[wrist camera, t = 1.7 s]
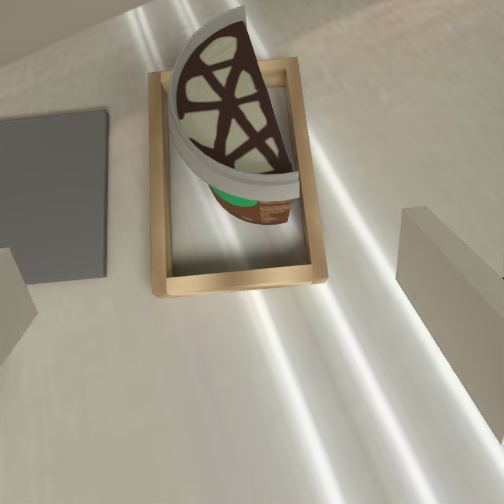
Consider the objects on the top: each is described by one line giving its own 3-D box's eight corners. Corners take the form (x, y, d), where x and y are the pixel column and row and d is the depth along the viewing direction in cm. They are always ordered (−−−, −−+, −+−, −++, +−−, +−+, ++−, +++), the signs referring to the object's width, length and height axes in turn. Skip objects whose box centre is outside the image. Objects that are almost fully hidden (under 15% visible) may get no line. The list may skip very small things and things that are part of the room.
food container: (179, 122, 33) (141, 23, 24) (251, 103, 33) (242, -2, 24) (212, 261, 30) (184, 212, 20) (292, 240, 30) (302, 181, 20)
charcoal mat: (108, 114, 34) (105, 110, 33) (106, 276, 30) (102, 275, 29) (-32, 129, 34) (-37, 125, 33) (-52, 291, 30) (-58, 290, 30)
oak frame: (295, 74, 34) (297, 56, 32) (324, 283, 29) (328, 277, 27) (155, 89, 34) (148, 72, 32) (160, 298, 29) (152, 293, 27)
